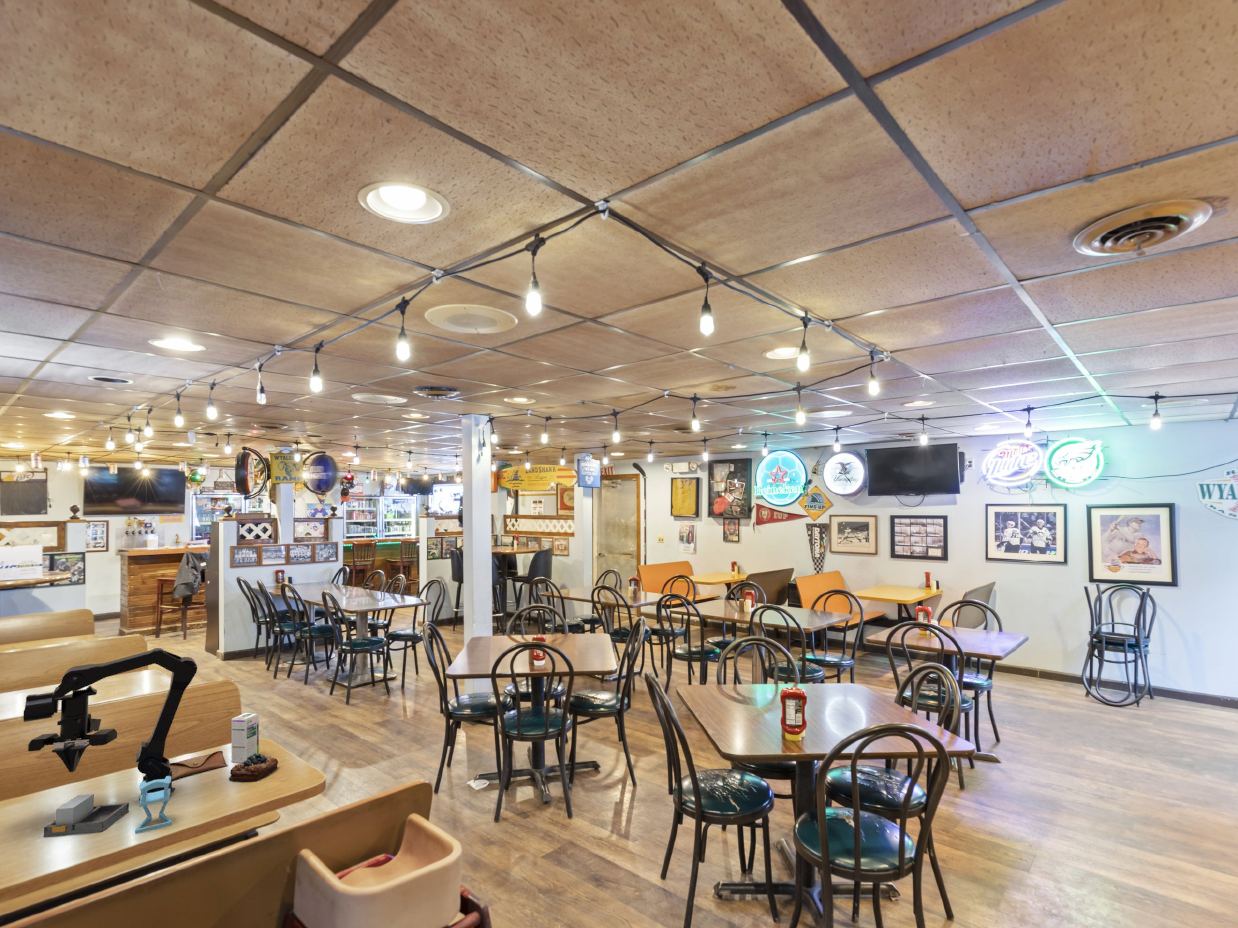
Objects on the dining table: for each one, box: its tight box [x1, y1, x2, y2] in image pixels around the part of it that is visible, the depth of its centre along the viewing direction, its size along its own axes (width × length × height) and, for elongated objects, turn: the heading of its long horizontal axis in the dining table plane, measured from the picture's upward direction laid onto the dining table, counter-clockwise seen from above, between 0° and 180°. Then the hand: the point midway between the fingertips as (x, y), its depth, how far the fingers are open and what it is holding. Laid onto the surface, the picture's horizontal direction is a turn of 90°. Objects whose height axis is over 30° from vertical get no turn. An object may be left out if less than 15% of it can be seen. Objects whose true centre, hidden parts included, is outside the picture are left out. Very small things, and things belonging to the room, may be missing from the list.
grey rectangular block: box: [55, 793, 95, 825], centre depth 168 cm, size 4×8×5 cm, turn 8°
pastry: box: [228, 753, 279, 783], centre depth 198 cm, size 11×12×6 cm
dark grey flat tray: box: [43, 802, 130, 838], centre depth 168 cm, size 14×11×2 cm
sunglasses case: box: [170, 750, 229, 782], centre depth 202 cm, size 18×7×7 cm
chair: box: [134, 776, 173, 835], centre depth 168 cm, size 8×8×12 cm
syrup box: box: [231, 712, 260, 764], centre depth 210 cm, size 6×6×14 cm
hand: (72, 771), depth 173 cm, fingers closed
